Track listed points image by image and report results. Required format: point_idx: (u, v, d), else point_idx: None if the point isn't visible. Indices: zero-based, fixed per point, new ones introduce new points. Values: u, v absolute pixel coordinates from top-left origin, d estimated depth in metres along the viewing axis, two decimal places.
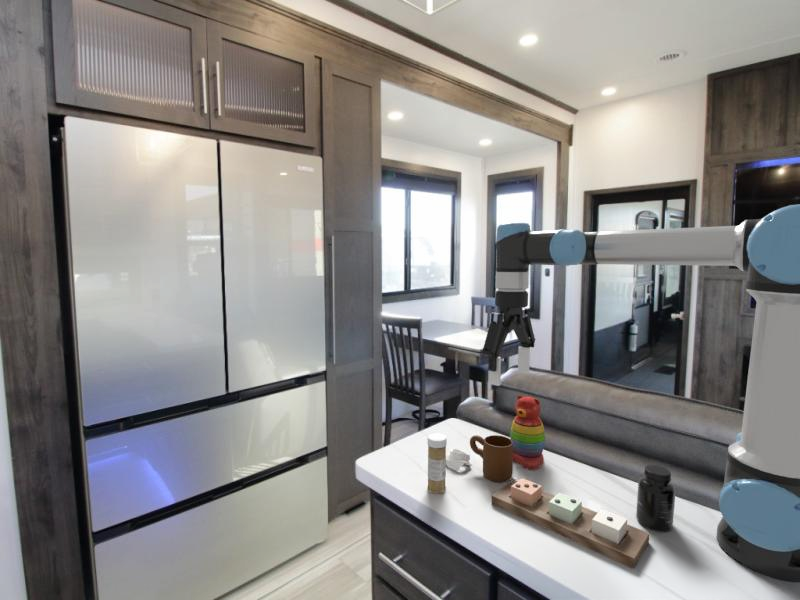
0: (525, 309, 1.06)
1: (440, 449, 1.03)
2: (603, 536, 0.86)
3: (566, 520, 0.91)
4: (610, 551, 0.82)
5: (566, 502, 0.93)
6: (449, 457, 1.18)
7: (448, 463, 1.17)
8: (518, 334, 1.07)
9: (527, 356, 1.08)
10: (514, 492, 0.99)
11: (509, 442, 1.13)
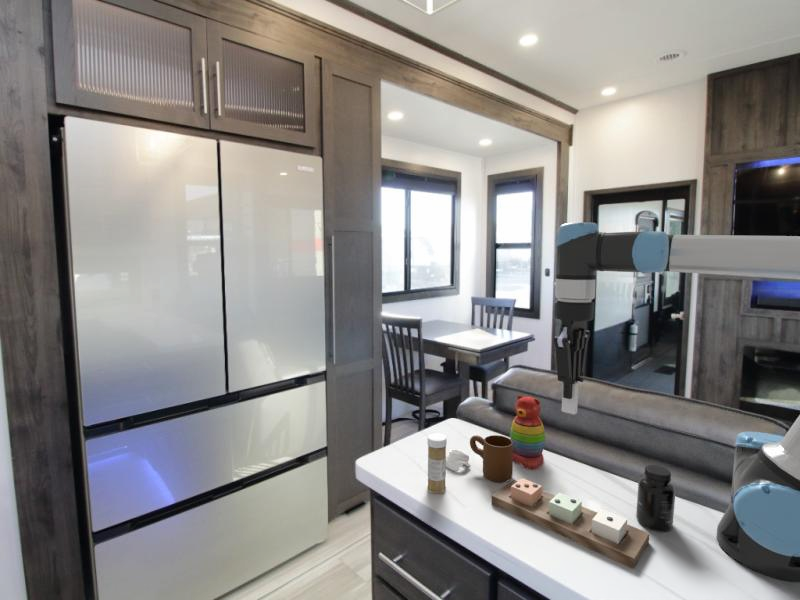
0: (586, 330, 0.93)
1: (440, 449, 1.03)
2: (603, 536, 0.86)
3: (566, 520, 0.91)
4: (610, 551, 0.82)
5: (566, 502, 0.93)
6: (448, 458, 1.18)
7: (447, 464, 1.17)
8: None
9: None
10: (514, 492, 0.99)
11: (509, 442, 1.13)
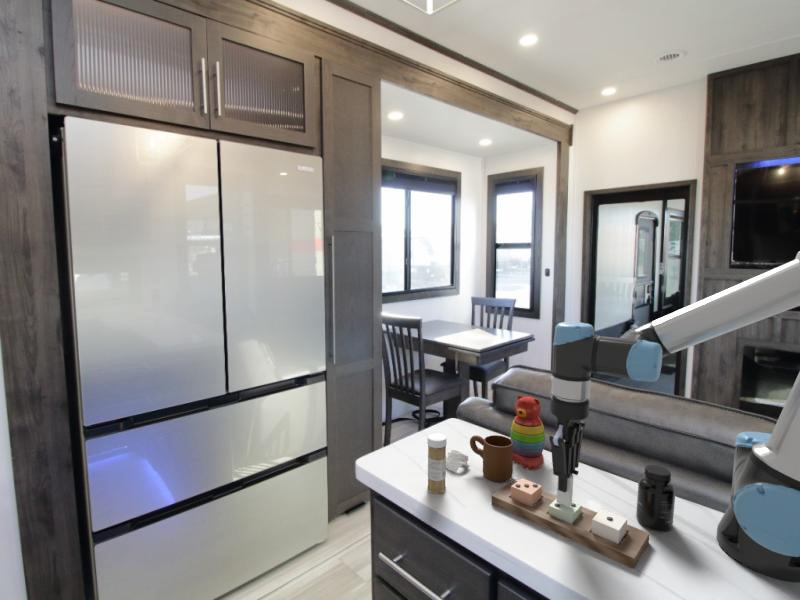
0: (581, 422, 0.95)
1: (440, 449, 1.03)
2: (603, 536, 0.86)
3: None
4: (610, 551, 0.82)
5: (566, 506, 0.93)
6: (447, 458, 1.18)
7: (446, 464, 1.17)
8: None
9: None
10: (514, 492, 0.99)
11: (509, 442, 1.13)
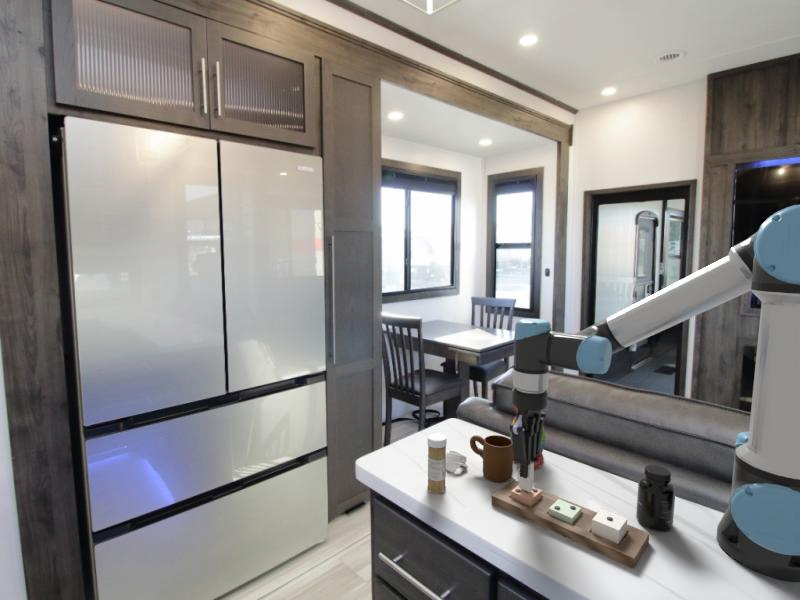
0: (542, 413, 1.01)
1: (440, 449, 1.03)
2: (603, 536, 0.86)
3: None
4: (610, 551, 0.82)
5: (566, 509, 0.93)
6: None
7: None
8: None
9: None
10: (514, 497, 0.99)
11: (509, 442, 1.13)
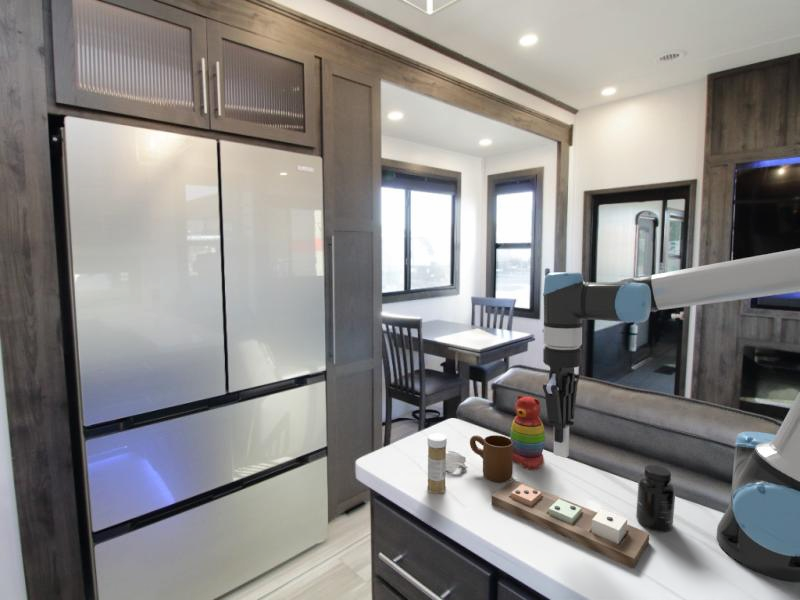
0: (575, 374, 0.95)
1: (440, 449, 1.03)
2: (603, 536, 0.86)
3: None
4: (610, 551, 0.82)
5: (566, 509, 0.93)
6: None
7: None
8: None
9: None
10: (514, 498, 0.99)
11: (509, 442, 1.13)
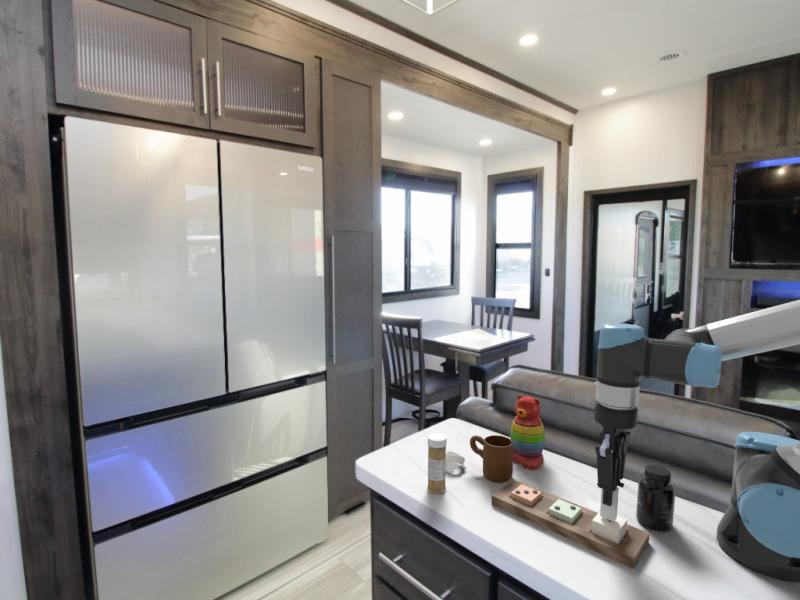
0: (626, 430, 0.89)
1: (440, 449, 1.03)
2: (603, 537, 0.86)
3: None
4: (610, 551, 0.82)
5: (566, 509, 0.93)
6: None
7: None
8: None
9: None
10: (514, 498, 0.99)
11: (509, 442, 1.13)
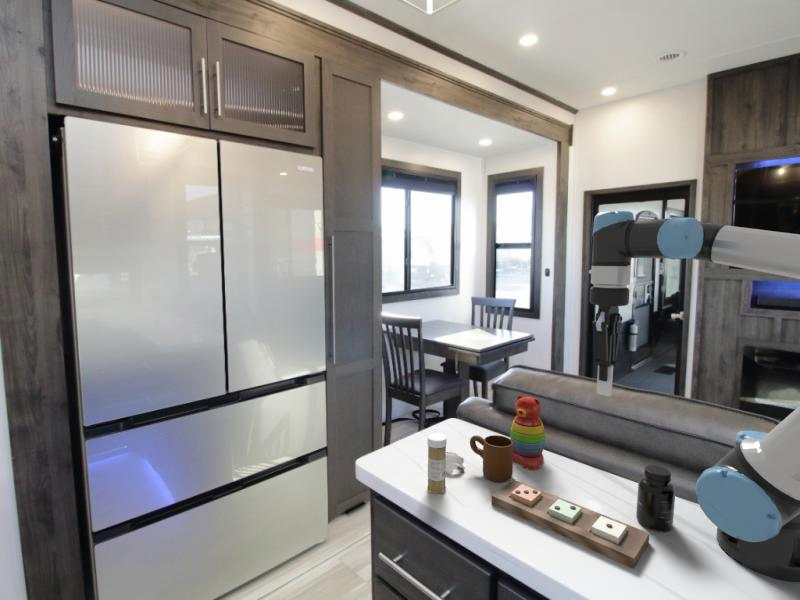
0: None
1: (440, 449, 1.03)
2: None
3: None
4: (610, 551, 0.82)
5: (566, 509, 0.93)
6: None
7: None
8: None
9: None
10: (514, 498, 0.99)
11: (509, 442, 1.13)
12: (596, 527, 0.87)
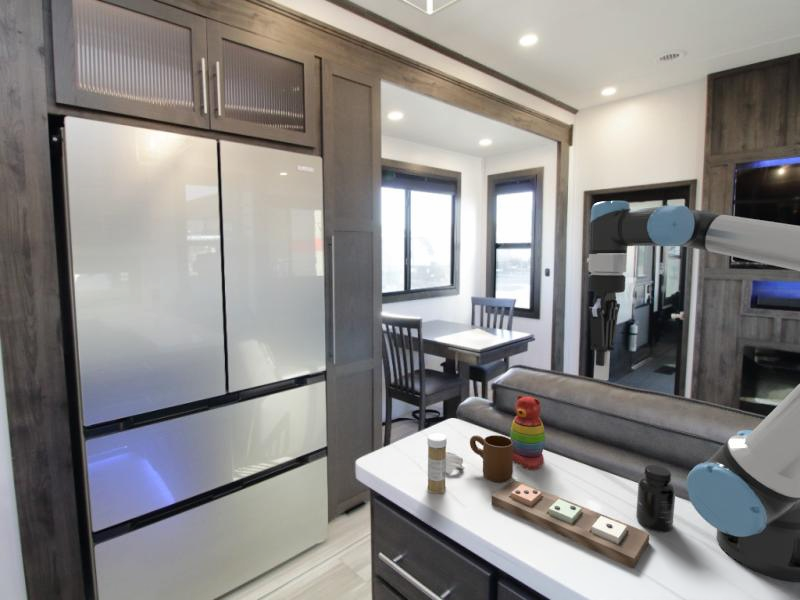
0: None
1: (440, 449, 1.03)
2: None
3: None
4: (610, 551, 0.82)
5: (566, 509, 0.93)
6: None
7: None
8: None
9: None
10: (514, 498, 0.99)
11: (509, 442, 1.13)
12: (596, 527, 0.87)
